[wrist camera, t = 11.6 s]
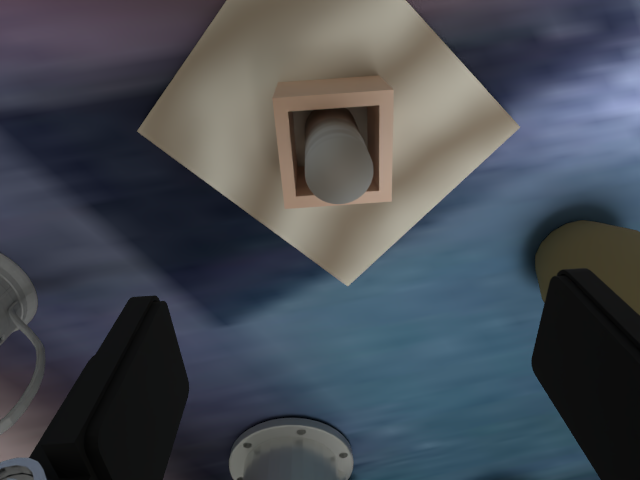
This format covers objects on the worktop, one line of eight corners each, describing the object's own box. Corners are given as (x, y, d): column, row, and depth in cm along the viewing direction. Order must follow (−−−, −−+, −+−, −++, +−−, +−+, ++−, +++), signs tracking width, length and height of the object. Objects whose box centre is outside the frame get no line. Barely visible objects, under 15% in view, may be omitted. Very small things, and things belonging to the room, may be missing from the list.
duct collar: (378, 171, 28) (391, 201, 24) (287, 177, 28) (284, 209, 24) (378, 75, 26) (393, 89, 21) (277, 82, 26) (272, 98, 21)
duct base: (510, 121, 29) (594, 169, 20) (346, 275, 34) (359, 362, 26) (304, -106, 23) (303, -171, 14) (144, 125, 28) (76, 176, 20)
